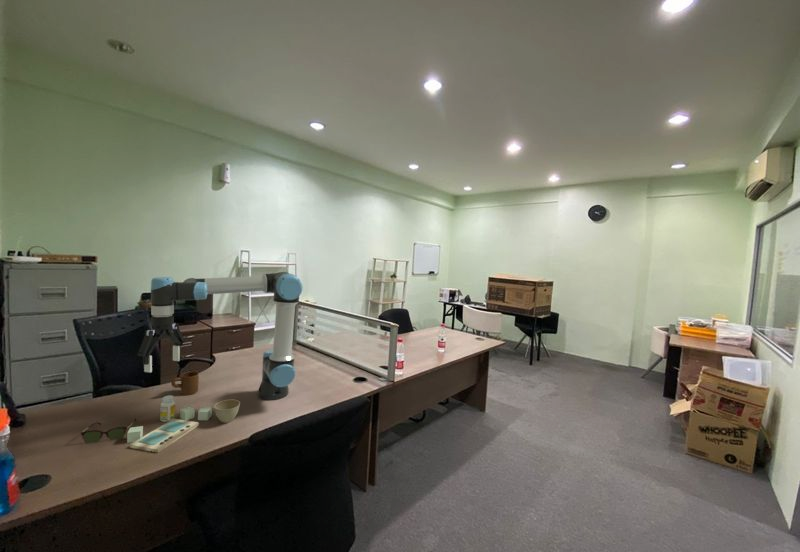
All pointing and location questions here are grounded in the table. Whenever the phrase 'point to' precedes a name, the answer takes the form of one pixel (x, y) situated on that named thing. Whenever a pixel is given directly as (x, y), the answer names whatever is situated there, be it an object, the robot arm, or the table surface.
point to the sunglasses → (111, 434)
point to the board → (164, 435)
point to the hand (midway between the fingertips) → (162, 366)
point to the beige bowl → (227, 410)
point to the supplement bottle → (167, 408)
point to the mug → (187, 383)
